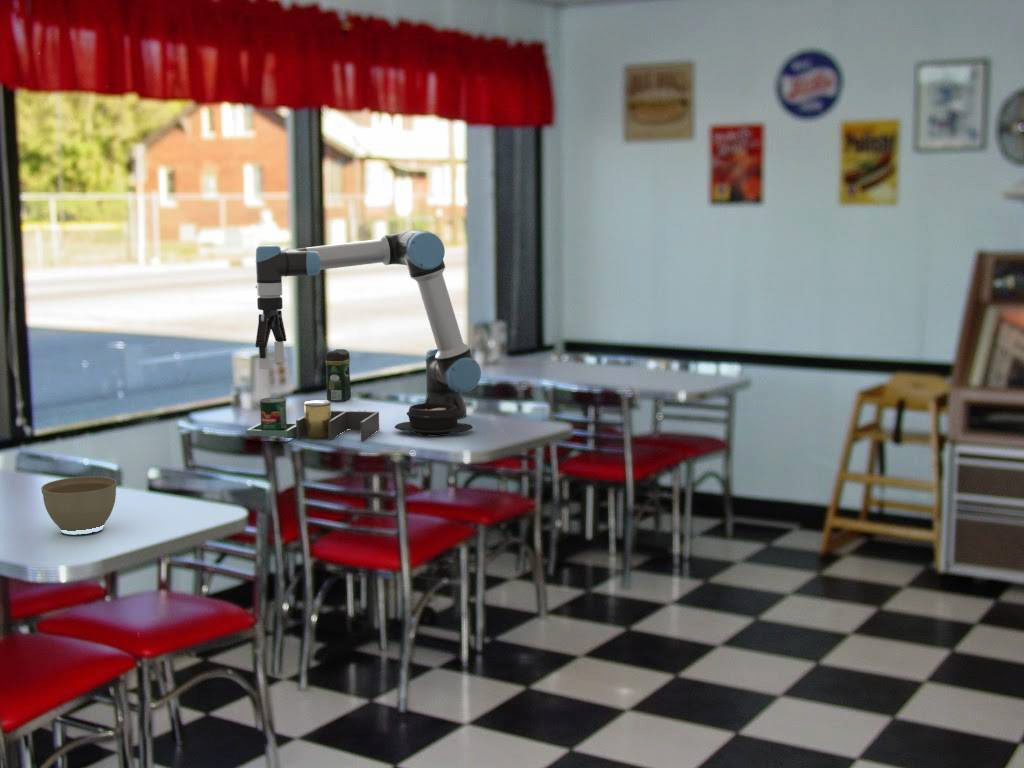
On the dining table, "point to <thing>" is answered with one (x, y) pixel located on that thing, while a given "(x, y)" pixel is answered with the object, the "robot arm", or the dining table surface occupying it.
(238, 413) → the dining table surface
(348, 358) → the coffee jar
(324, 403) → the ochre can
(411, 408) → the casserole
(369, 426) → the clip rack
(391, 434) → the dining table surface
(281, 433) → the tray
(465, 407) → the robot arm
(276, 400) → the canned tomato
